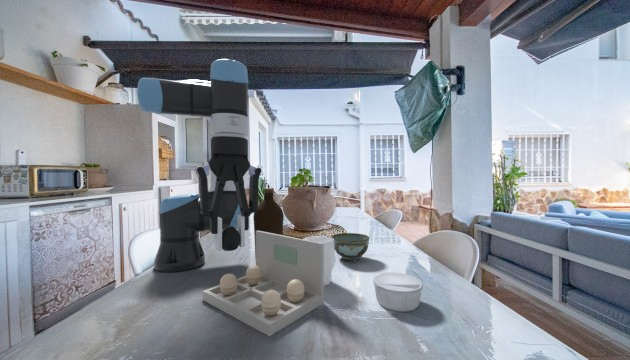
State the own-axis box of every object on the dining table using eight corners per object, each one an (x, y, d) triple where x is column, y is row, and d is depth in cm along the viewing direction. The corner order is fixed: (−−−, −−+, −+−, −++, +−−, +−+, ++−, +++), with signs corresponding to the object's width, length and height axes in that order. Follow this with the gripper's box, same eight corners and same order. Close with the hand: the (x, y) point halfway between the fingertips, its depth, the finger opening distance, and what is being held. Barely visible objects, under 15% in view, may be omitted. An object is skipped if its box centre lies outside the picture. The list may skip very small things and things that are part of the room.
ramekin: (396, 319, 56) (396, 294, 56) (363, 298, 66) (363, 276, 66) (433, 307, 62) (433, 284, 62) (397, 289, 72) (397, 269, 71)
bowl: (373, 265, 90) (373, 241, 90) (332, 264, 91) (332, 241, 90) (365, 253, 104) (366, 232, 104) (330, 253, 104) (330, 232, 104)
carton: (202, 300, 65) (202, 241, 65) (258, 279, 78) (257, 230, 78) (269, 336, 50) (269, 261, 50) (323, 303, 63) (323, 243, 63)
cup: (331, 290, 71) (332, 244, 71) (298, 287, 73) (298, 242, 72) (336, 277, 80) (336, 236, 79) (306, 275, 81) (306, 235, 81)
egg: (232, 245, 61) (232, 223, 61) (243, 248, 58) (243, 225, 58) (215, 249, 57) (215, 226, 57) (227, 253, 55) (226, 228, 55)
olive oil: (274, 264, 91) (274, 189, 90) (247, 261, 94) (247, 189, 94) (288, 255, 101) (288, 188, 100) (263, 252, 104) (263, 187, 104)
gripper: (188, 131, 50) (188, 258, 50) (274, 138, 59) (274, 245, 59) (182, 136, 56) (183, 249, 57) (261, 141, 65) (261, 238, 66)
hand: (230, 247), depth 58 cm, fingers closed on egg, 4 cm apart
